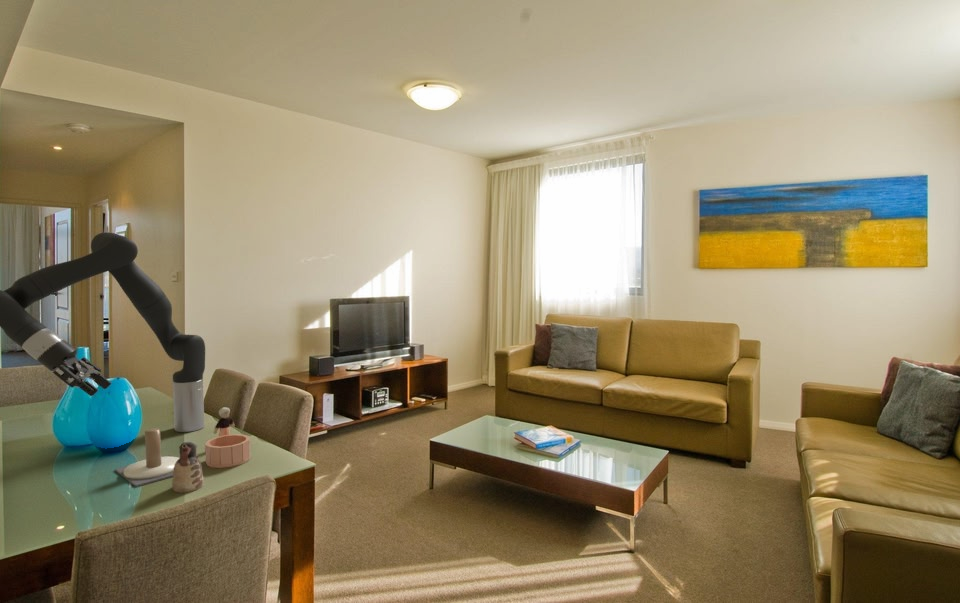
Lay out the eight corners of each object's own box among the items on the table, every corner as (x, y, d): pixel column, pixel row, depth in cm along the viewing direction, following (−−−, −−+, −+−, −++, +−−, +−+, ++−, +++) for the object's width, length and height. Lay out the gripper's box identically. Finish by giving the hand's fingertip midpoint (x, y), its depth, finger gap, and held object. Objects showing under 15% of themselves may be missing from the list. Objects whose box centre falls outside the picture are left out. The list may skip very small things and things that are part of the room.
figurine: (208, 480, 139) (207, 436, 139) (197, 492, 132) (195, 446, 132) (180, 482, 139) (178, 437, 138) (167, 493, 132) (165, 447, 131)
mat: (115, 470, 146) (114, 468, 146) (169, 456, 157) (169, 455, 157) (135, 487, 135) (135, 485, 135) (193, 471, 146) (193, 469, 146)
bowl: (199, 461, 153) (198, 441, 153) (238, 450, 162) (238, 431, 162) (217, 471, 146) (216, 450, 145) (257, 459, 155) (256, 440, 154)
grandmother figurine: (222, 450, 162) (221, 410, 161) (211, 450, 163) (210, 410, 162) (238, 442, 169) (237, 404, 169) (228, 441, 170) (227, 403, 169)
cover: (116, 470, 145) (114, 431, 144) (171, 456, 156) (170, 420, 155) (133, 483, 136) (132, 442, 135) (190, 467, 147) (189, 429, 146)
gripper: (47, 342, 131) (102, 385, 135) (74, 335, 145) (123, 374, 149) (23, 364, 130) (78, 406, 134) (52, 355, 143) (102, 394, 147)
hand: (102, 389), depth 141 cm, fingers open, 8 cm apart
